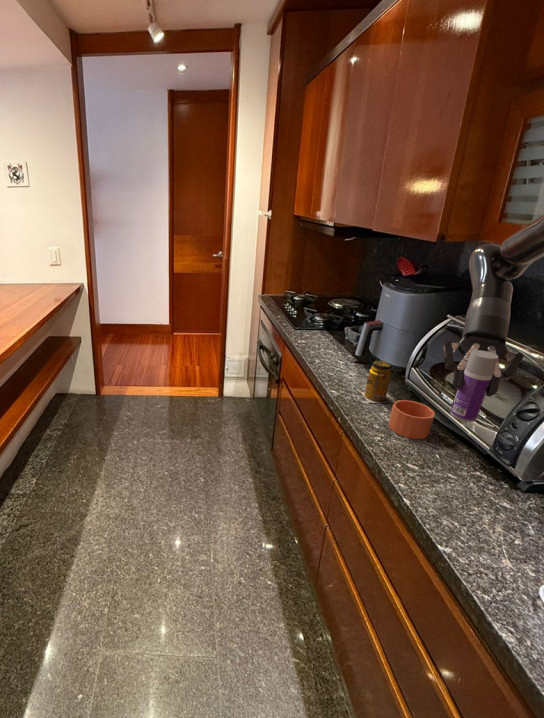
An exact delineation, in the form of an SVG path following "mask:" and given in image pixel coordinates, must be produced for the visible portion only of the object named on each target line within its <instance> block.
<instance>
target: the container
mask: <svg viewBox="0 0 544 718" xmlns="http://www.w3.org/2000/svg"><path fill="white" fill-rule="evenodd" d="M497 360H498V356H497V355H496V354H494V353H491V352H487V351H481V350H474V351H472V352H471V355H470V357H469V360H468V363H467V365H466V367H465V368H464V370H463V371H464V376H463V381H462V386H461V388H460V390H457V391H456V395H455V397H454V401H453V402H452V406H451V409H450V412H449V413H450V415H451V416H452V418H454V419H456V420H459V421H462V422H467V423H473V422H476V421H477V419H478V416H479V414H480V411H481V408H482V407H483V406H482V405H483V403H484V399H485V397H486V393H487V389H488V387H489V384H490V381H491V379H492V376H493V373H494V370H495V367H496V364H497ZM498 361H499V360H498Z"/></svg>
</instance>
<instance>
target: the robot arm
mask: <svg viewBox="0 0 544 718" xmlns="http://www.w3.org/2000/svg"><path fill="white" fill-rule="evenodd" d="M543 257H544V214H543V215H542V216H540V217H538V218H536V219H535V220H533V221H531V222H530V223H528V224H527V225H525V226H524V227H522V228H520V229H518V230H517V231H515V232H514V233H512V234H511V235H509V236H508V237H506V239H504V240H503V242H502V243H501V244H495V243H488V242H487V243H483V244H480V245H478V246H477V247H476V248H475V249H474V250H473V251H472V252H471V255H469V260H468V272H469V277H470V281H471V287H472V288H471V289H472V291H471V297H470V302H469V307H468V308H467V310H466V316H465V317H464V326H463V329H462V330H463V331H462V335H461V340H459V341H458V342H451V341H450V340H446V341H445V342H444V344H443V346H442V353H443V362H444V367H445V369H446V370H447V371H452V372H453V379H452V387H455V390H457V391H458V390H460V388H461V386H462V381H463V376H464V371H465V368H466V365H467V363H468V360H469V357H470V355H471V352H472V351H474V350H481V351H487V352H491V353H494V354H496V355H497V356H498V360H497V364H496V367H495V370H494V373H493V376H492V379H491V381H490V384H489V387H488V389H487V392H486V395H485V397H489V398H491V397H492V396H493V395H496V393H498V391H499V386H500V381H504V382H508V381H509V380H510V379H511V378H512V377H513V376H514V374H515V373H516V371H517V369H518V367H519V365H520V363H521V362H522V360H523V359H524V357H525V355H524V353H522V352H517V353H515V352H512V351H510V350H508V348H507V347H508V346H507V338H508V332H509V327H510V319H511V305H512V298H513V292H514V286H513V284H512V282H510V280H515V279H517V278H519V277H520V276H522V274H524V272H525V271H526V269H528V267H530V266H531V265H532V264H533V263H534V262H535V261H538V260H539V259H541V258H543ZM456 350H458V351H459V353H460V355H461V356H463V357H462V359H461V361H460V362H459V363H455V358H454V353H455V351H456ZM503 357H505V358H506V362H507V363H508V366H507V367H506V368H505V370H504V371H501V369H500V362H499V361H500V360H501V359H502V358H503Z"/></svg>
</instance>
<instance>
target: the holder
mask: <svg viewBox="0 0 544 718" xmlns="http://www.w3.org/2000/svg"><path fill="white" fill-rule="evenodd" d="M391 408H392V409H391V412H390V416H389V419H388V427H389V429H390V430H391V431H393V432H394V433H395V434H397V435H399V436H402V437H404V438H407V439H412V440H423V439H426V438H428V436H429V435H430V432H431V428H432V426H433V422H434V419H435V416H436V412H435V411H434V409H432V408H431V407H429V406H428V405H427V404H424V403H421V402H418V401H414V400H407V399H400V400H397V401H395V403H392V407H391Z"/></svg>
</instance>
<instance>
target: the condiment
mask: <svg viewBox="0 0 544 718" xmlns="http://www.w3.org/2000/svg"><path fill="white" fill-rule="evenodd" d="M392 367H393V365H392V364H391V363H390V362H387V361H385V360H375V361H373V362H372V364H371V368H370V369H369V372H368V376H367V382H366V385H365V391H360V393H361V396H362V397H363V398H364V399H365V400H366V402H367V403H373V404H394V403H395V402H396V401H395V400H394V399H393V398H392V397H391V395H389V393H388V390H389V387H390V386H389V385H390V381H391V378H392Z"/></svg>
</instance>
